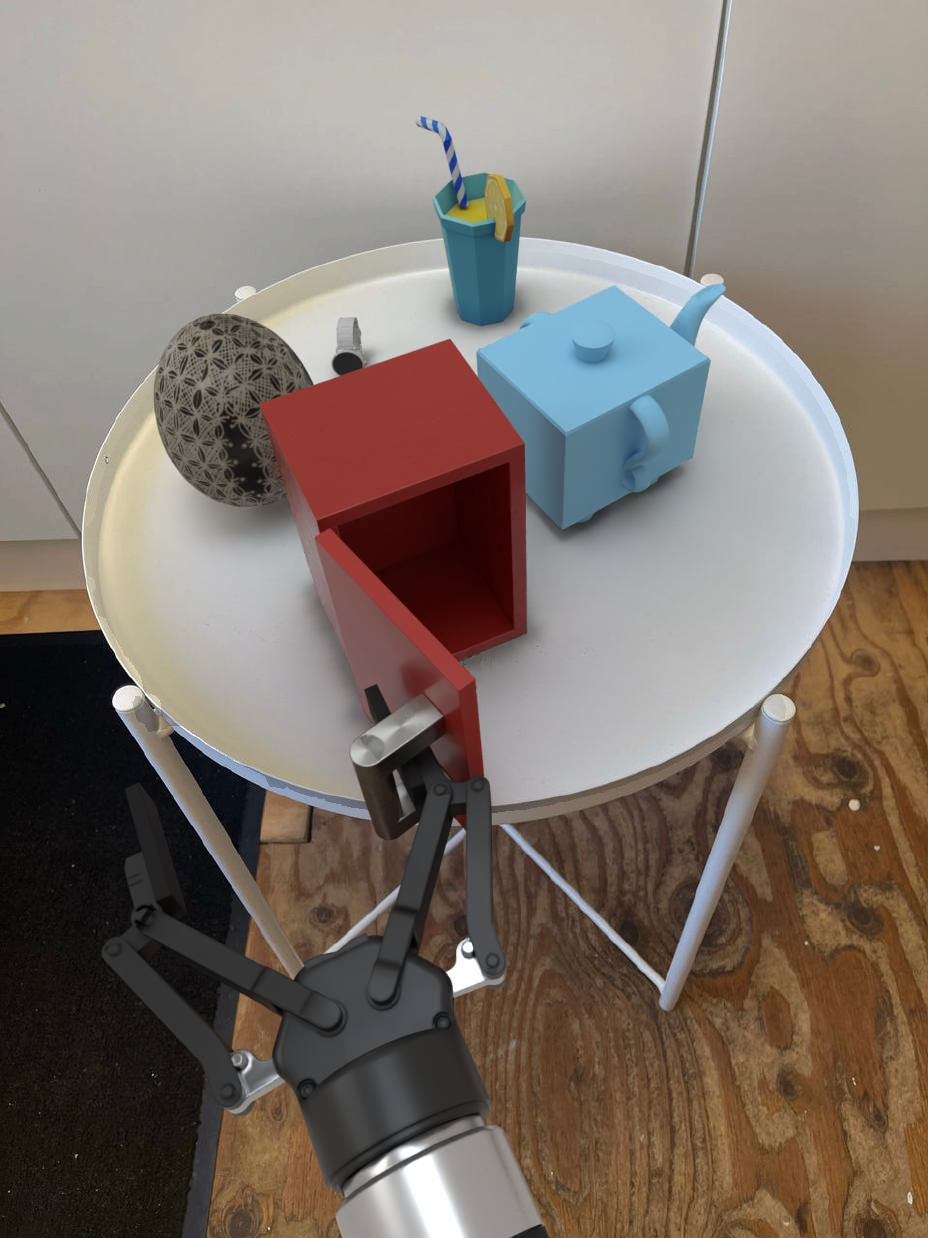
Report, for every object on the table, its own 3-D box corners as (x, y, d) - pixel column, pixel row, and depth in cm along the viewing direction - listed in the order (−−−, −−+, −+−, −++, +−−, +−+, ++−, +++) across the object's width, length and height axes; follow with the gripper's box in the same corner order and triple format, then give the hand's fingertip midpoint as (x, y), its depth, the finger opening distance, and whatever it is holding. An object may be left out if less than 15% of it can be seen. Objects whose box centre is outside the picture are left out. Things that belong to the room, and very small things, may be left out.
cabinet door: (411, 896, 56) (369, 754, 42) (301, 754, 62) (230, 587, 48) (490, 835, 58) (475, 678, 44) (375, 703, 64) (329, 527, 50)
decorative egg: (197, 557, 72) (128, 404, 60) (181, 451, 79) (117, 295, 67) (349, 519, 74) (312, 363, 62) (321, 418, 80) (283, 259, 68)
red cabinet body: (527, 633, 67) (525, 442, 52) (366, 700, 64) (316, 520, 50) (467, 534, 72) (450, 337, 57) (316, 593, 70) (258, 402, 55)
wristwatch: (336, 391, 82) (326, 343, 78) (340, 353, 85) (330, 305, 81) (370, 389, 82) (361, 341, 78) (373, 351, 85) (365, 303, 81)
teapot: (583, 566, 70) (592, 435, 59) (464, 443, 78) (454, 308, 67) (769, 460, 75) (808, 321, 64) (640, 354, 83) (656, 216, 72)
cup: (400, 284, 90) (379, 125, 78) (466, 251, 93) (455, 91, 81) (492, 358, 84) (484, 196, 71) (560, 320, 86) (564, 157, 74)
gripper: (156, 1310, 41) (60, 869, 52) (662, 1042, 46) (471, 694, 57) (90, 1311, 35) (-2, 812, 46) (682, 1001, 40) (464, 621, 51)
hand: (259, 746), depth 52 cm, fingers open, 12 cm apart
